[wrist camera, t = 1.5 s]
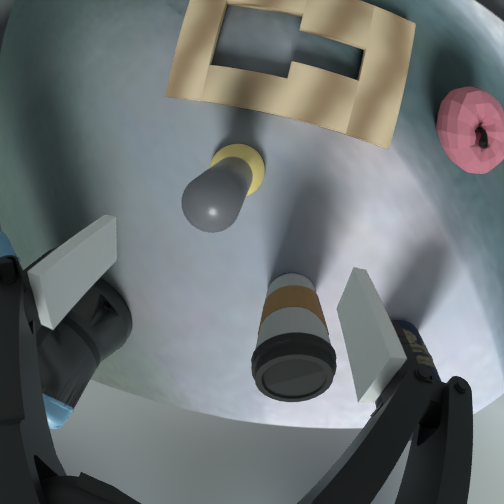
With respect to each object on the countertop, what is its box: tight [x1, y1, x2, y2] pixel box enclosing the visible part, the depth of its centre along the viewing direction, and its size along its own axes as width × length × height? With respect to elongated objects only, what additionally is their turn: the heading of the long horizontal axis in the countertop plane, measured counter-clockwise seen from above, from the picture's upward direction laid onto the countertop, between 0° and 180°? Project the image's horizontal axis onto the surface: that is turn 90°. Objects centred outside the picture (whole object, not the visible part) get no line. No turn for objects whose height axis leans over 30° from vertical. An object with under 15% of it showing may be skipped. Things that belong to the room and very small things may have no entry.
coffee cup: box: [251, 273, 337, 402], centre depth 31 cm, size 8×8×15 cm
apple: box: [436, 86, 504, 174], centre depth 22 cm, size 10×9×10 cm
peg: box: [182, 144, 265, 232], centre depth 25 cm, size 6×6×14 cm
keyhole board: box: [165, 0, 416, 149], centre depth 24 cm, size 24×16×3 cm, turn 78°
